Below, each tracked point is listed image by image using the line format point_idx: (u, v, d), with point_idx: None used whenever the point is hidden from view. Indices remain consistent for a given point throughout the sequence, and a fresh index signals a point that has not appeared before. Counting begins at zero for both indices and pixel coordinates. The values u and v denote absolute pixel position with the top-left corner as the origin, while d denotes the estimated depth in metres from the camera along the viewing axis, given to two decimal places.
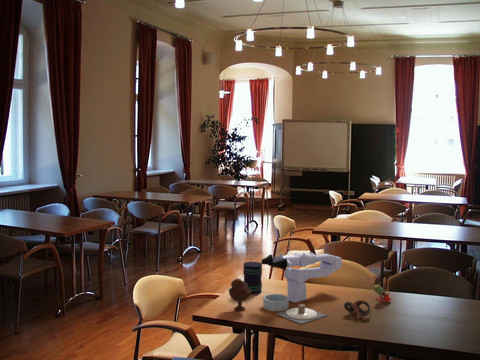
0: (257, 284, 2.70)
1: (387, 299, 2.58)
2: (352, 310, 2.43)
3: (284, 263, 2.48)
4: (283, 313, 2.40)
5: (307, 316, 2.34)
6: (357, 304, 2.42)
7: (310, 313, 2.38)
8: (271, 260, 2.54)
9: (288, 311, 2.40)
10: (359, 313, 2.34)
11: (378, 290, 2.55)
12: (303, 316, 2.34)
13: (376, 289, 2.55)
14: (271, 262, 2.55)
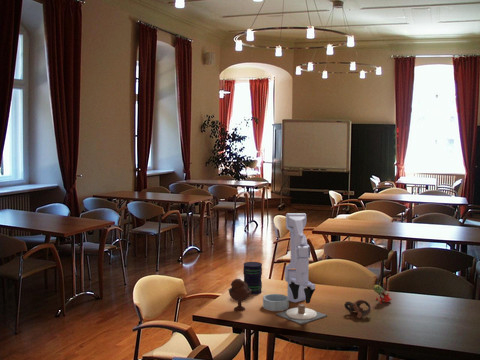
0: (257, 284, 2.70)
1: (387, 299, 2.58)
2: (352, 310, 2.43)
3: None
4: (283, 313, 2.40)
5: (307, 316, 2.34)
6: (357, 304, 2.43)
7: (310, 313, 2.38)
8: (295, 285, 2.41)
9: (288, 311, 2.40)
10: (360, 313, 2.35)
11: (378, 290, 2.55)
12: (303, 316, 2.34)
13: (376, 289, 2.55)
14: (297, 285, 2.41)
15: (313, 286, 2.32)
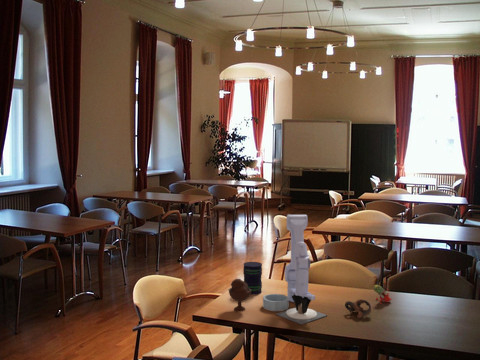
0: (257, 284, 2.70)
1: (387, 299, 2.58)
2: (353, 309, 2.44)
3: None
4: (283, 313, 2.40)
5: (307, 316, 2.34)
6: (358, 303, 2.43)
7: (310, 313, 2.38)
8: (298, 297, 2.40)
9: (288, 311, 2.40)
10: (360, 312, 2.35)
11: (378, 290, 2.55)
12: (303, 316, 2.34)
13: (376, 289, 2.55)
14: (300, 296, 2.40)
15: (313, 297, 2.32)
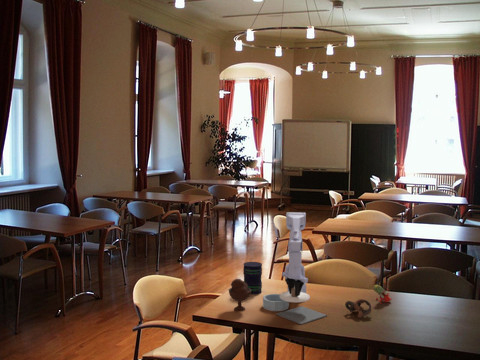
0: (257, 284, 2.70)
1: (387, 299, 2.58)
2: (353, 309, 2.44)
3: None
4: (283, 313, 2.40)
5: (300, 299, 2.37)
6: (358, 303, 2.44)
7: (303, 296, 2.41)
8: (291, 280, 2.42)
9: (281, 294, 2.43)
10: (360, 312, 2.36)
11: (378, 290, 2.55)
12: (296, 299, 2.37)
13: (376, 289, 2.55)
14: (293, 280, 2.43)
15: (306, 280, 2.35)
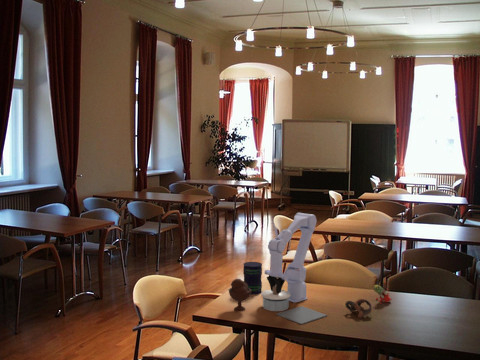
0: (257, 284, 2.70)
1: (387, 299, 2.58)
2: (353, 309, 2.44)
3: None
4: (283, 313, 2.40)
5: (281, 296, 2.45)
6: (358, 303, 2.44)
7: (284, 294, 2.49)
8: (273, 278, 2.51)
9: (263, 292, 2.52)
10: (361, 312, 2.36)
11: (378, 290, 2.55)
12: (277, 296, 2.45)
13: (376, 289, 2.55)
14: (274, 277, 2.51)
15: (286, 277, 2.43)
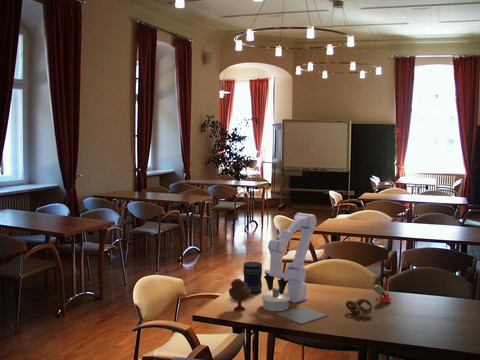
0: (257, 284, 2.70)
1: (387, 299, 2.58)
2: (354, 309, 2.45)
3: None
4: (283, 313, 2.40)
5: (280, 299, 2.45)
6: (359, 303, 2.44)
7: (284, 296, 2.49)
8: (270, 277, 2.52)
9: (263, 295, 2.52)
10: (361, 312, 2.36)
11: (378, 290, 2.55)
12: (277, 299, 2.45)
13: (376, 289, 2.55)
14: (272, 277, 2.53)
15: (286, 277, 2.43)
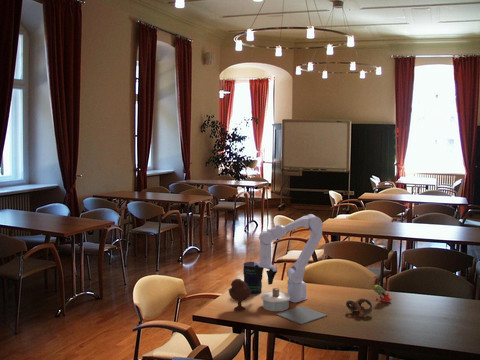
0: (257, 284, 2.70)
1: (387, 299, 2.58)
2: (354, 308, 2.45)
3: None
4: (283, 313, 2.40)
5: (280, 299, 2.45)
6: (359, 302, 2.45)
7: (284, 296, 2.49)
8: (259, 268, 2.61)
9: (263, 295, 2.52)
10: (361, 311, 2.37)
11: (378, 290, 2.55)
12: (277, 299, 2.45)
13: (376, 289, 2.55)
14: (261, 268, 2.61)
15: (275, 268, 2.52)
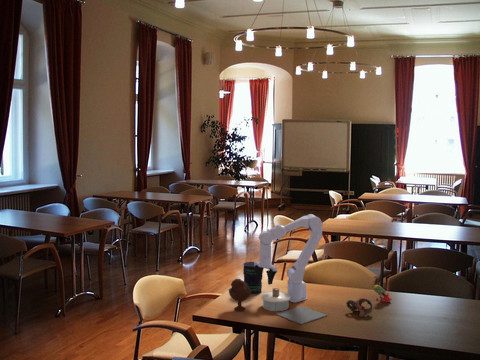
0: (257, 284, 2.70)
1: (387, 299, 2.58)
2: (354, 308, 2.45)
3: None
4: (283, 313, 2.40)
5: (280, 299, 2.45)
6: (359, 302, 2.45)
7: (284, 296, 2.49)
8: (259, 268, 2.61)
9: (263, 295, 2.52)
10: (362, 311, 2.37)
11: (378, 290, 2.55)
12: (277, 299, 2.45)
13: (376, 289, 2.55)
14: (261, 268, 2.61)
15: (274, 268, 2.52)
